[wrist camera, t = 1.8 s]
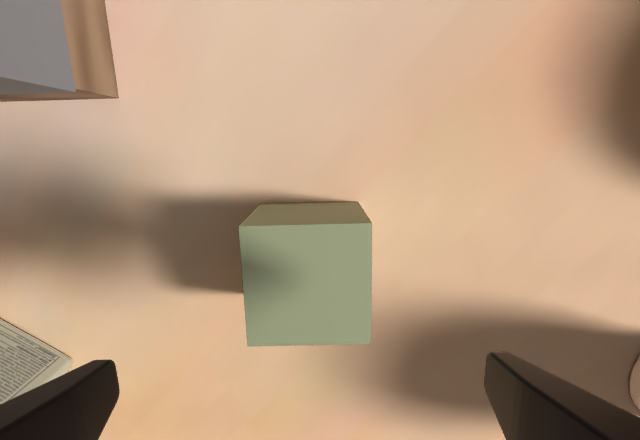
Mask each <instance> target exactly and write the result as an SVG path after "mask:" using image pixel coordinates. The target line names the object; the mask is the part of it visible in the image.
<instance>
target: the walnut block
mask: <svg viewBox="0 0 640 440" xmlns="http://www.w3.org/2000/svg"><path fill="white" fill-rule="evenodd" d="M60 3H61V8H62V14H63V20H64V26H65V32H66V38H67V43H68V49H69V55H70V61H71V67H72V72H73V78H74V84H75V90H76V92H67V93H36V94H6V95H0V102H6V101H40V100H73V99H107V98H119V97H118V90H117V83H116V76H115V69H114V62H113V55H112V49H111V42H110V35H109V28H108V21H107V14H106V7H105V0H60Z"/></svg>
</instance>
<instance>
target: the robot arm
mask: <svg viewBox="0 0 640 440" xmlns="http://www.w3.org/2000/svg"><path fill="white" fill-rule="evenodd" d="M484 386H485V391H486V394H487V396H488V398H489V401H490V403H491V405H492V408H493V410H494V412H495V415H496V417H497V419H498V422H499V424H500V426H501V429H502V431H503V433H504V436H505V438H506V440H640V417H638V416H635V415H633V414H631V413H629V412H627V411H625V410H623V409H621V408H619V407H617V406H615V405H613V404H611V403H609V402H607V401H605V400H603V399H601V398H599V397H597V396H595V395H593V394H591V393H589V392H587V391H585V390H583V389H581V388H579V387H577V386H575V385H573V384H571V383H569V382H567V381H565V380H563V379H561V378H559V377H557V376H555V375H553V374H551V373H549V372H547V371H545V370H543V369H541V368H539V367H536V366H534V365H532V364H530V363H528V362H526V361H524V360H522V359H520V358H518V357H516V356H514V355H512V354H510V353H508V352H504V351H502V352H490V353H488V355H487V358H486V368H485V379H484ZM118 397H119V383H118V377H117V371H116V366H115V363H114V362H113V361H112V360H94V361H91V362H89V363H87V364H85V365H83V366H81V367H79V368H76V369H74V370H72V371H70V372H68V373H66V374H64V375H62V376H59V377H57V378H55V379H53V380H51V381H49V382H47V383H45V384H42V385H40V386H38V387H36V388H34V389H32V390H30V391H27V392H25V393H23V394H21V395H19V396H17V397H15V398H13V399H10V400H8V401H6V402H4V403H2V404H0V440H98V439H99V437H100V435H101V433H102V431H103V429H104V427H105V425H106V423H107V421H108V419H109V417H110V415H111V413H112V411H113V409H114V407H115V405H116V403H117V400H118Z"/></svg>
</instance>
